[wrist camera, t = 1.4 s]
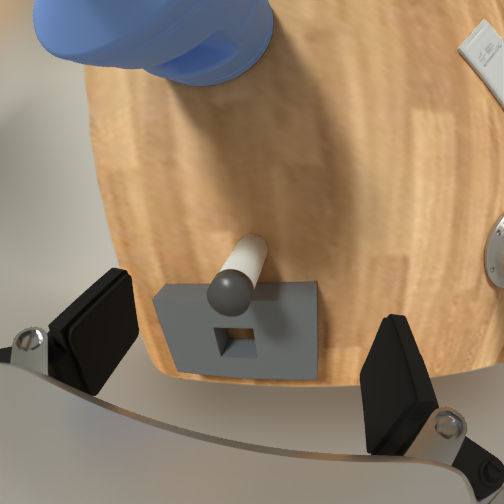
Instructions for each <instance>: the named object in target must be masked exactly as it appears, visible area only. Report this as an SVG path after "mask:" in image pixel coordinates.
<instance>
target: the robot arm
mask: <svg viewBox="0 0 504 504" xmlns="http://www.w3.org/2000/svg"><path fill="white" fill-rule="evenodd" d="M484 263H485V269H486V272H487V275H488V277H489V278H490V280H491V281H492V282H493V283H494V284H495V285H496V286H498V287H500V288H503V289H504V214H503V215H502V216H501V217H500V218H499V219H498V220H497V222H496V223H495V225H494V226H493V228H492V230H491V232H490V234H489V237H488V240H487V243H486V247H485V253H484ZM48 327H49V329H50V331H49V332H48V333H46V331H45V330H43V329H42V328H38V327H30V328H27V329H24V330H22V331H21V332H19V333H18V334H17V335H16V337H15V338H14V341H13V345H12V347H7V348H2V349H0V504H504V465H503V464H502V462H501V461H500V460H499V459H498V458H496V457H495V456H494V455H492V454H491V453H489V452H488V451H486V450H485V449H483V448H482V447H481V446H479V445H477V444H476V443H475V442H473V441H472V440H470V439H469V438H467V437H466V433H467V423H466V421H465V419H464V417H463V416H462V415H461V414H460V413H459V412H458V411H457V410H455V409H453V408H449V407H440V408H439V406H438V402H437V399H436V396H435V393H434V390H433V387H432V384H431V381H430V378H429V375H428V372H427V369H426V366H425V363H424V361H423V358H422V356H421V354H420V352H419V350H418V347H417V344H416V342H415V339H414V337H413V334H412V331H411V329H410V326H409V324H408V321H407V319H406V317H405V316H403V315H394V314H390V315H389V316H388V317H387V318H383V320H382V322H381V325H380V327H379V330H378V332H377V335H376V337H375V340H374V342H373V344H372V347H371V349H370V351H369V354H368V356H367V358H366V361H365V363H364V365H363V367H362V370H361V373H360V385H361V393H362V402H363V411H364V422H365V434H366V447H367V452H368V453H371V455H347V454H331V453H317V452H305V451H295V450H288V449H280V448H273V447H266V446H260V445H254V444H248V443H243V442H237V441H233V440H228V439H223V438H219V437H215V436H210V435H206V434H202V433H198V432H195V431H190V430H187V429H184V428H180V427H177V426H173V425H170V424H166V423H163V422H160V421H157V420H154V419H151V418H148V417H145V416H142V415H139V414H136V413H134V412H131V411H128V410H125V409H123V408H120V407H118V406H115V405H112V404H110V403H108V402H105V401H103V400H100V399H98V398H96V397H93V396H96V395H97V394H98V393H99V391H100V390H101V389H102V387H103V386H104V384H105V383H106V381H107V380H108V378H109V377H110V375H111V374H112V373H113V371H114V370H115V368H116V367H117V365H118V364H119V363H120V361H121V360H122V358H123V357H124V356H125V354H126V353H127V351H128V350H129V348H130V347H131V346H132V344H133V343H134V342H135V340H136V338H137V337H138V334H139V327H138V321H137V315H136V308H135V301H134V293H133V286H132V278H131V276H130V275H128V272H127V271H126V270H123V269H118V268H111V269H110V270H109V271H108V272H107V273H105V274H104V275H103V276H102V277H101V278H100V279H99V280H97V281H96V282H95V283H94V284H93V285H92V286H91V287H89V289H87V290H86V291H85V292H84V293H83V294H82V295H81V296H79V297H78V298H77V299H76V300H75V301H74V302H73V303H72V304H71V305H70V306H69V307H67V308H66V309H65V310H64V311H63V312H62V313H61V314H60V315H59V316H58V317H57V318H56V319H55V320H54V321H52V323H50V324H49V325H48Z"/></svg>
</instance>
